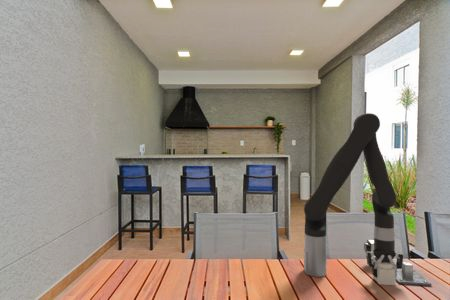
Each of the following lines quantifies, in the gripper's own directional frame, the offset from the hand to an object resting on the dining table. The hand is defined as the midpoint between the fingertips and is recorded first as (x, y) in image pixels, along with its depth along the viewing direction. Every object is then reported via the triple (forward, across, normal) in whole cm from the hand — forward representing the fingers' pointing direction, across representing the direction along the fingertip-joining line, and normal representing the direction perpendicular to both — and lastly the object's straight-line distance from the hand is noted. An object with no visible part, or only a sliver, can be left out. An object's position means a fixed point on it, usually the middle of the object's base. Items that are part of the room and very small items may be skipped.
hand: (384, 277), depth 116 cm
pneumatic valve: (+2, +4, +18) cm, 19 cm away
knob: (+2, 0, 0) cm, 2 cm away
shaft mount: (+2, +11, +5) cm, 12 cm away
